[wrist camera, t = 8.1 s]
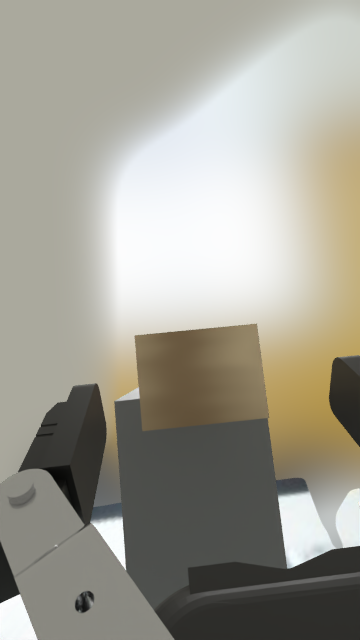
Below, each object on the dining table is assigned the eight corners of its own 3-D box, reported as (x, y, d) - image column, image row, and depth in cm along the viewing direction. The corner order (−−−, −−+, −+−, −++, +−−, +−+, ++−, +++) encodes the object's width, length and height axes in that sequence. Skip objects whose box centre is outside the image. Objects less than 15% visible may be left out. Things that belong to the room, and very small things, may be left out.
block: (142, 431, 10) (134, 335, 11) (166, 383, 40) (163, 358, 41) (269, 417, 11) (256, 323, 11) (199, 379, 40) (196, 354, 41)
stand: (166, 1133, 17) (114, 401, 22) (170, 728, 37) (142, 385, 42) (356, 1102, 18) (263, 386, 23) (261, 716, 37) (222, 377, 42)
